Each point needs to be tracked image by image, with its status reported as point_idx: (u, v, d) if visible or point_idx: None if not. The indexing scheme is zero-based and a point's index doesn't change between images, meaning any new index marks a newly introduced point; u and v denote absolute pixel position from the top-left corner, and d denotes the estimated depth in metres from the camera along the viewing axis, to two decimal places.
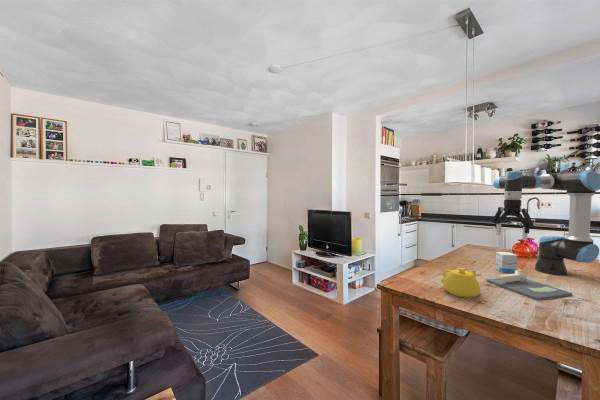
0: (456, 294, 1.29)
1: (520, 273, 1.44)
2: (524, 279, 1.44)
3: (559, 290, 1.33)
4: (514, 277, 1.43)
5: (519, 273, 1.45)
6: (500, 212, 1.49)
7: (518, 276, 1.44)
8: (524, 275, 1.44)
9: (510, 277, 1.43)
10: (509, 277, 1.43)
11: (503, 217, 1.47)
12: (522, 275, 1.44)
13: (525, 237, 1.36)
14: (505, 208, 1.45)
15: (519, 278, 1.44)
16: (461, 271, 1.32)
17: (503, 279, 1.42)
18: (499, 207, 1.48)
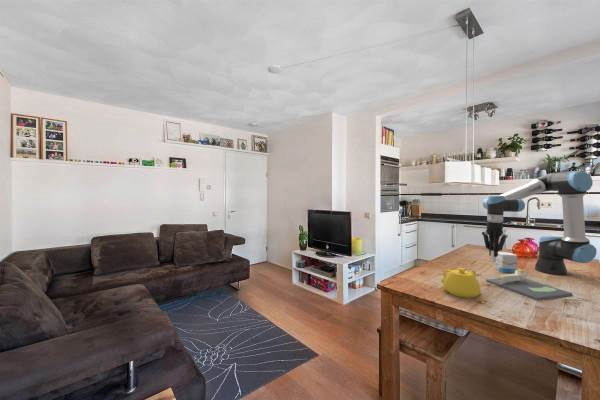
0: (456, 294, 1.29)
1: (520, 273, 1.44)
2: (524, 279, 1.44)
3: (559, 290, 1.33)
4: (514, 277, 1.43)
5: (519, 273, 1.45)
6: (486, 236, 1.53)
7: (518, 276, 1.44)
8: (524, 275, 1.44)
9: (510, 277, 1.43)
10: (509, 277, 1.43)
11: (492, 241, 1.50)
12: (522, 275, 1.44)
13: (494, 260, 1.49)
14: (487, 230, 1.52)
15: (519, 278, 1.44)
16: (461, 271, 1.32)
17: (503, 279, 1.42)
18: (482, 232, 1.54)
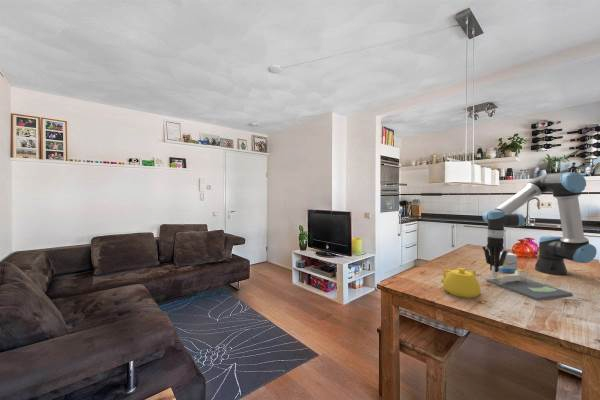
0: (456, 294, 1.29)
1: (520, 273, 1.44)
2: (524, 279, 1.44)
3: (559, 290, 1.33)
4: (514, 277, 1.43)
5: (519, 273, 1.45)
6: (487, 251, 1.53)
7: (518, 276, 1.44)
8: (524, 275, 1.44)
9: (510, 277, 1.43)
10: (509, 277, 1.43)
11: (493, 256, 1.50)
12: (522, 275, 1.44)
13: (495, 275, 1.49)
14: (488, 245, 1.52)
15: (519, 278, 1.44)
16: (461, 271, 1.32)
17: (503, 279, 1.42)
18: (483, 247, 1.54)
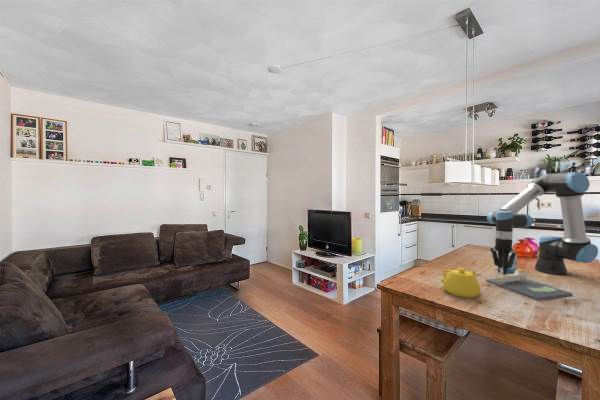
0: (456, 294, 1.29)
1: (520, 273, 1.44)
2: (524, 279, 1.44)
3: (559, 290, 1.33)
4: (514, 277, 1.43)
5: (519, 273, 1.45)
6: (495, 253, 1.49)
7: (518, 276, 1.44)
8: (524, 275, 1.44)
9: (510, 277, 1.43)
10: (509, 277, 1.43)
11: (501, 257, 1.46)
12: (522, 275, 1.44)
13: None
14: (496, 246, 1.48)
15: (519, 278, 1.44)
16: (461, 271, 1.32)
17: (503, 279, 1.42)
18: (491, 248, 1.50)
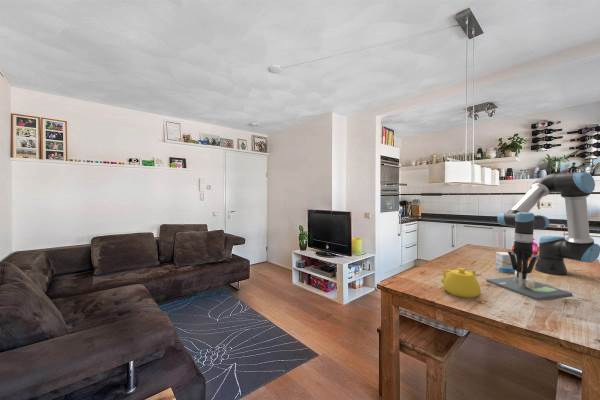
0: (456, 294, 1.29)
1: None
2: None
3: (559, 290, 1.33)
4: None
5: None
6: (513, 256, 1.41)
7: None
8: None
9: None
10: None
11: (520, 262, 1.38)
12: None
13: (522, 283, 1.37)
14: (514, 249, 1.39)
15: None
16: (461, 271, 1.32)
17: (534, 285, 1.33)
18: (508, 252, 1.42)
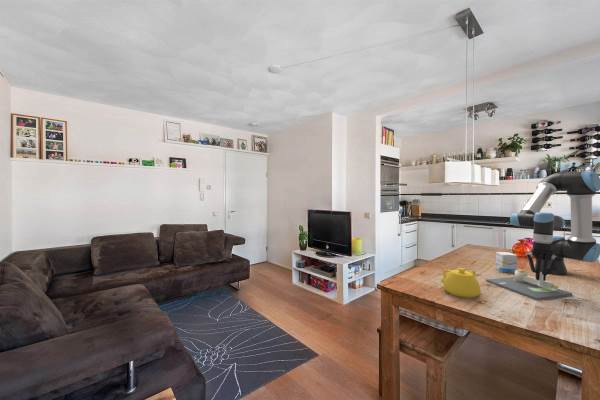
0: (456, 294, 1.29)
1: None
2: None
3: (559, 290, 1.33)
4: None
5: None
6: None
7: None
8: None
9: None
10: None
11: None
12: None
13: None
14: (535, 251, 1.34)
15: None
16: (461, 271, 1.32)
17: None
18: (528, 254, 1.36)
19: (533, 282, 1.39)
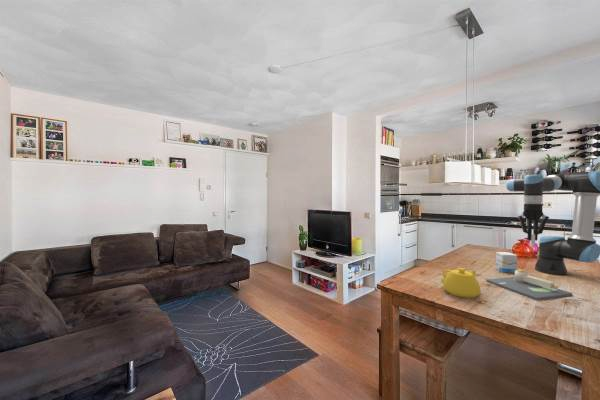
0: (456, 294, 1.29)
1: None
2: None
3: (559, 290, 1.33)
4: None
5: None
6: None
7: None
8: None
9: None
10: None
11: None
12: None
13: None
14: (526, 213, 1.39)
15: None
16: (461, 271, 1.32)
17: None
18: (520, 216, 1.40)
19: (533, 282, 1.39)
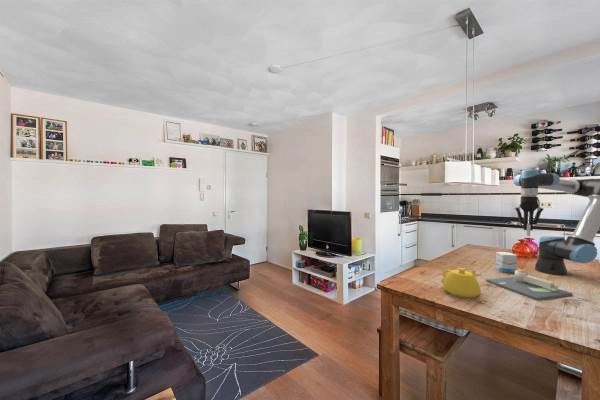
0: (456, 294, 1.29)
1: None
2: None
3: (559, 290, 1.33)
4: None
5: None
6: None
7: None
8: None
9: None
10: None
11: None
12: None
13: None
14: (522, 204, 1.51)
15: None
16: (461, 271, 1.32)
17: None
18: (516, 207, 1.52)
19: (533, 282, 1.39)
